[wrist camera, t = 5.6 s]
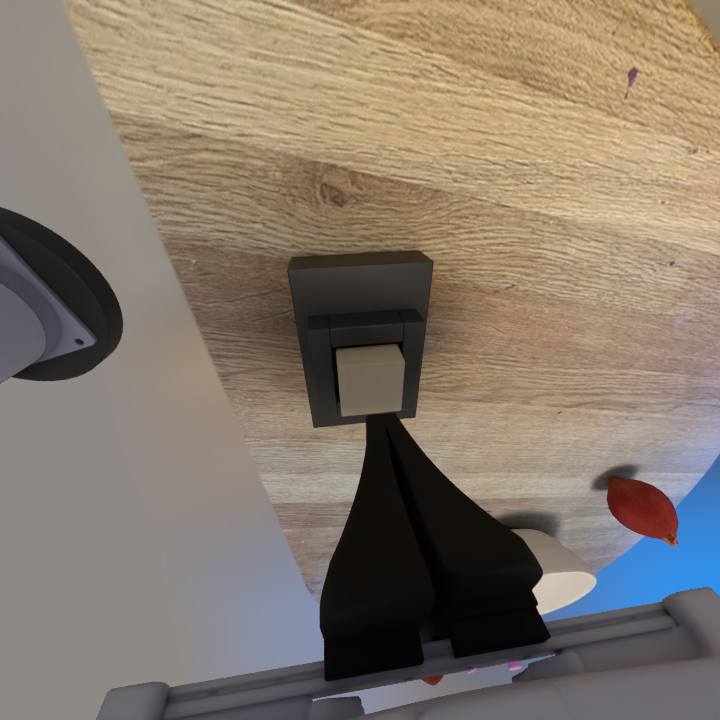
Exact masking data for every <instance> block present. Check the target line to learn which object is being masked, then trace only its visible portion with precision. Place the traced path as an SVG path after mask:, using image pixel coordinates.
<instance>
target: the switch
mask: <svg viewBox="0 0 720 720" xmlns="http://www.w3.org/2000/svg"><path fill="white" fill-rule="evenodd" d="M336 358H337V369H338V381H339V393H340V404H341V415H342V416H353V415H363V414H373V413H383V412H392V411H400V410H401V407H402V394H403V381H404V368H405V361H404V358H403V356H402V354H401V352H400V350H399V347H398V345H397V344H386V345H374V346H362V347H349V348H337V349H336Z"/></svg>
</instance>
